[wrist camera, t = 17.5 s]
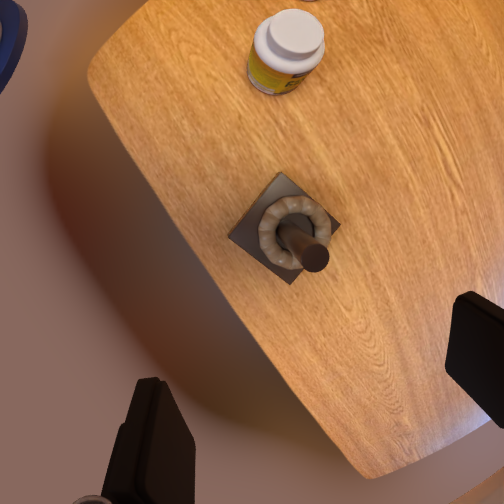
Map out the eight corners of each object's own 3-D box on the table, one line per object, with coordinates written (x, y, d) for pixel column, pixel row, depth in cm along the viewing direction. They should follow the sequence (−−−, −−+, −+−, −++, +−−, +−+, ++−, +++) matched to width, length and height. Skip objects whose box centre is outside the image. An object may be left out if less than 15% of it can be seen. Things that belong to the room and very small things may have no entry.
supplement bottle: (278, 107, 28) (304, 77, 18) (234, 73, 27) (240, 29, 17) (312, 71, 27) (349, 33, 17) (270, 38, 26) (290, -12, 16)
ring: (243, 224, 29) (244, 226, 28) (302, 181, 29) (307, 181, 27) (284, 279, 31) (287, 285, 30) (340, 238, 31) (346, 242, 29)
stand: (227, 234, 31) (229, 269, 20) (278, 171, 30) (309, 171, 19) (287, 281, 33) (317, 332, 22) (336, 222, 31) (389, 248, 21)
